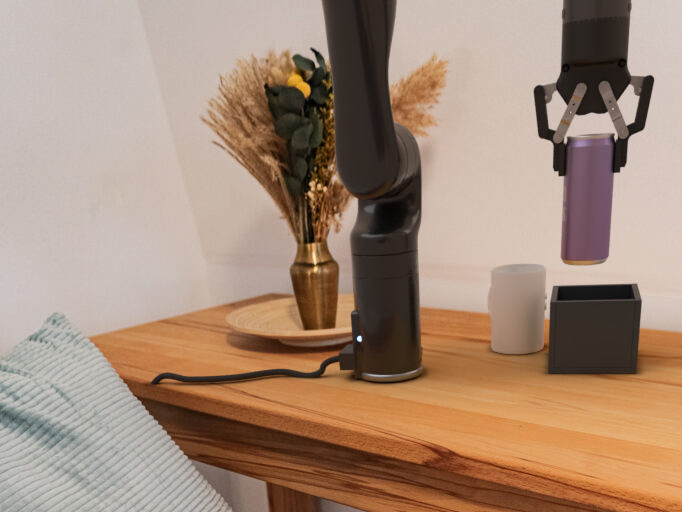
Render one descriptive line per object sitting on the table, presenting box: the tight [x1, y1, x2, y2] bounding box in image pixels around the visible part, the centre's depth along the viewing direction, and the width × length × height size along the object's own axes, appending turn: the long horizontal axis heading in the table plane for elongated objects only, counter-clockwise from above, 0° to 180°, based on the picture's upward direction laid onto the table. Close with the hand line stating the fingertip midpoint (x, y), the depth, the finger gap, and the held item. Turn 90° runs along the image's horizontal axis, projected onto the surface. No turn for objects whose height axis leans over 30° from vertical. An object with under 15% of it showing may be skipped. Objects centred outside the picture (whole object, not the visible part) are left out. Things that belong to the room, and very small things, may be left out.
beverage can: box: [560, 132, 616, 266], centre depth 105 cm, size 6×6×15 cm
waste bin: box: [547, 283, 643, 375], centre depth 117 cm, size 12×12×10 cm
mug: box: [487, 263, 548, 355], centre depth 129 cm, size 8×12×12 cm
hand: (588, 173), depth 104 cm, fingers closed on beverage can, 6 cm apart
